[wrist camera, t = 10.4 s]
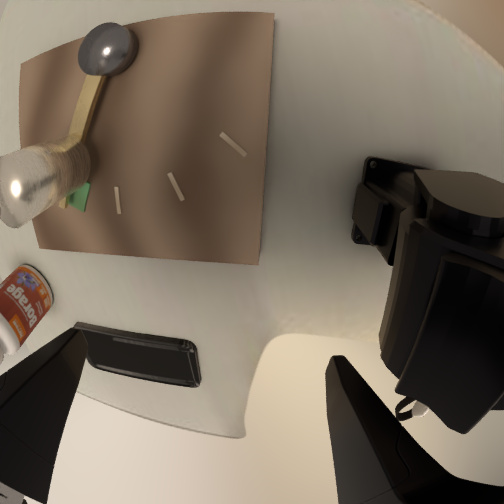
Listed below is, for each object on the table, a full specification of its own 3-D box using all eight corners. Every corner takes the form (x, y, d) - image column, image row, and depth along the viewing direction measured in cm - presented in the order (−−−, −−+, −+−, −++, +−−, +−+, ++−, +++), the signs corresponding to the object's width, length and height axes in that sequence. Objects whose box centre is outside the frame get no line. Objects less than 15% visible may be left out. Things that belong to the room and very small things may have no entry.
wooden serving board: (273, 20, 13) (274, 12, 11) (258, 254, 21) (258, 266, 20) (32, 63, 13) (19, 63, 11) (48, 241, 21) (38, 249, 20)
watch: (401, 411, 34) (406, 429, 31) (386, 407, 33) (392, 426, 30) (439, 385, 31) (446, 403, 28) (427, 379, 30) (435, 398, 27)
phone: (201, 388, 29) (91, 367, 29) (202, 381, 30) (94, 361, 30) (193, 345, 25) (69, 324, 25) (195, 337, 26) (73, 317, 26)
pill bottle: (63, 301, 25) (11, 374, 15) (39, 311, 26) (-5, 374, 16) (31, 255, 22) (-33, 320, 12) (11, 271, 23) (-42, 329, 14)
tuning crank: (102, 24, 11) (34, 3, 5) (149, 32, 12) (87, 1, 6) (51, 194, 17) (-10, 233, 11) (88, 212, 18) (29, 261, 12)
